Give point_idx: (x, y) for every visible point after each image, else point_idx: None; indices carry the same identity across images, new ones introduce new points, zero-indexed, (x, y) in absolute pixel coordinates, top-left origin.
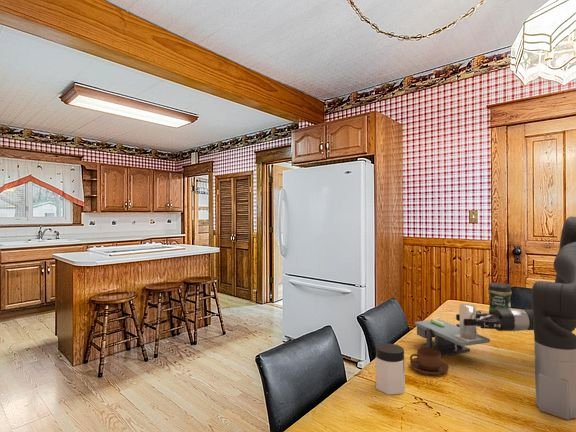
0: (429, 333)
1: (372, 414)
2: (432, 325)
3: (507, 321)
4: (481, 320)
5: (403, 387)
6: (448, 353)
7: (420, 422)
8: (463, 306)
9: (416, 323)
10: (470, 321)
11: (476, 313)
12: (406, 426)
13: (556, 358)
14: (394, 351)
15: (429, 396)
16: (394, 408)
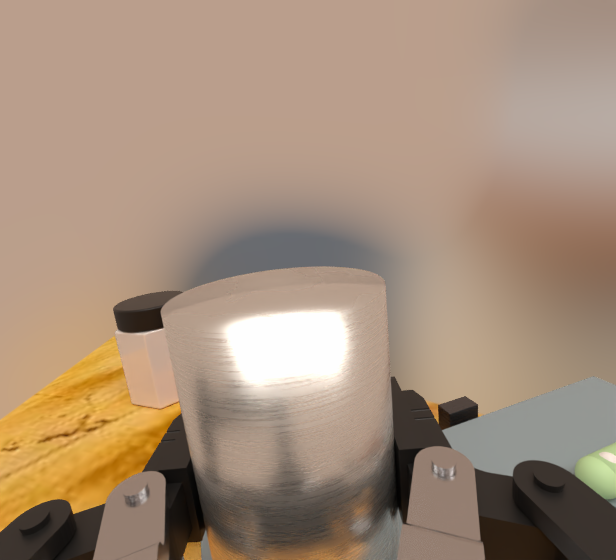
0: (441, 426)
1: (99, 369)
2: (585, 438)
3: None
4: (45, 511)
5: (130, 392)
6: None
7: (18, 417)
8: (245, 277)
9: (580, 384)
10: (165, 436)
11: (401, 553)
12: (29, 399)
13: None
14: (125, 303)
15: (86, 446)
16: (93, 390)
